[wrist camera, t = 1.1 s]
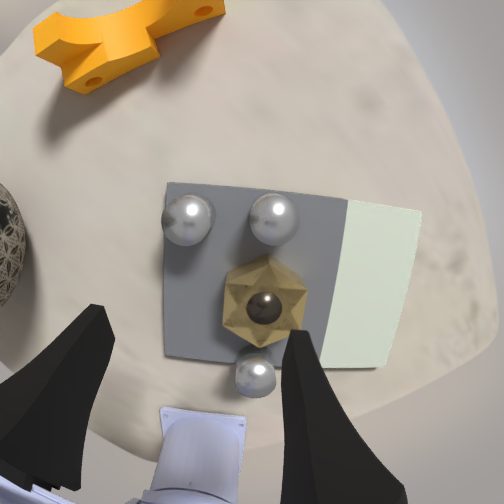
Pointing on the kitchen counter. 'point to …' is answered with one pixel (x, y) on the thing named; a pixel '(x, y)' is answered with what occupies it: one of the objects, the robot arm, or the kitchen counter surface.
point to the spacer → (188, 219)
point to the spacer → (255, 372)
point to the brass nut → (263, 301)
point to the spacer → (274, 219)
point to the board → (304, 264)
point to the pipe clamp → (114, 39)
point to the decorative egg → (10, 244)
